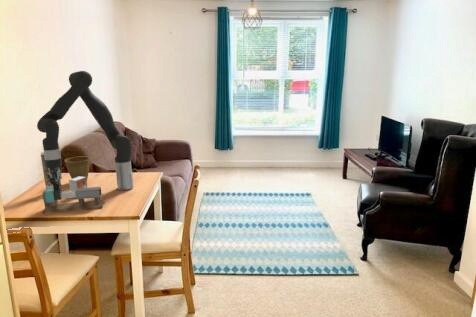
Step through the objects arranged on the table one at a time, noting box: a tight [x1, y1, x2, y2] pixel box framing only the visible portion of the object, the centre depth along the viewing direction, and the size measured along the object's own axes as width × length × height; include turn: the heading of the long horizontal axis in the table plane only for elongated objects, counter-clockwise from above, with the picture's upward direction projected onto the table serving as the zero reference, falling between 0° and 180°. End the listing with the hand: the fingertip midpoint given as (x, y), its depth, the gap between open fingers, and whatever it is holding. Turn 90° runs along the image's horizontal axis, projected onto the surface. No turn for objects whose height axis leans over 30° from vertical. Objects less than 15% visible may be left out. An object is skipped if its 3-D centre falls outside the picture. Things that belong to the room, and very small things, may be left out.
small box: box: [68, 176, 88, 191], centre depth 206 cm, size 8×6×10 cm
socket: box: [42, 188, 56, 204], centre depth 185 cm, size 5×6×6 cm
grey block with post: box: [53, 180, 76, 201], centre depth 185 cm, size 19×4×10 cm, turn 100°
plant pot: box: [64, 155, 91, 181], centre depth 230 cm, size 15×15×16 cm
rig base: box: [42, 197, 106, 214], centre depth 188 cm, size 29×10×6 cm, turn 100°
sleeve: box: [75, 186, 102, 200], centre depth 188 cm, size 12×5×5 cm, turn 100°
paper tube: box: [40, 151, 53, 190], centre depth 209 cm, size 7×7×25 cm
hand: (57, 189), depth 185 cm, fingers closed on grey block with post, 3 cm apart
